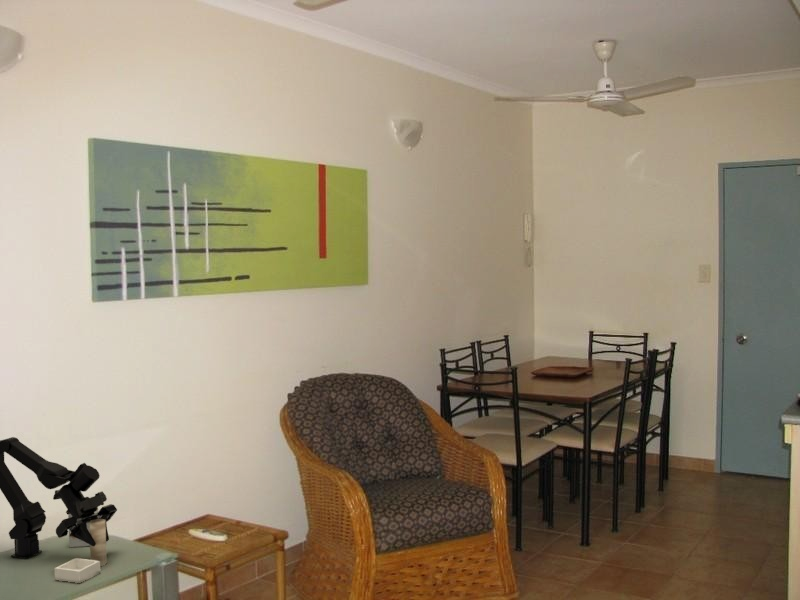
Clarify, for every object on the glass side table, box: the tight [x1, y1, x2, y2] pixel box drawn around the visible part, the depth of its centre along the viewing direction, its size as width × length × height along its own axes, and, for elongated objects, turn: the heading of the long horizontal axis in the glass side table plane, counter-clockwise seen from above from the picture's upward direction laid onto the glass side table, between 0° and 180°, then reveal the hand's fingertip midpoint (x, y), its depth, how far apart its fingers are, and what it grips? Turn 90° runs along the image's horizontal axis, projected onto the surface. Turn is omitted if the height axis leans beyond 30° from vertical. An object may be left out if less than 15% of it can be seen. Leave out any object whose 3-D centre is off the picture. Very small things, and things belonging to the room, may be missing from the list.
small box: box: [67, 506, 99, 548], centre depth 261 cm, size 8×6×13 cm
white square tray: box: [54, 557, 101, 584], centre depth 233 cm, size 9×9×4 cm
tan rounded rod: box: [89, 519, 108, 567], centre depth 242 cm, size 4×4×13 cm
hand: (101, 543), depth 242 cm, fingers closed on tan rounded rod, 4 cm apart
